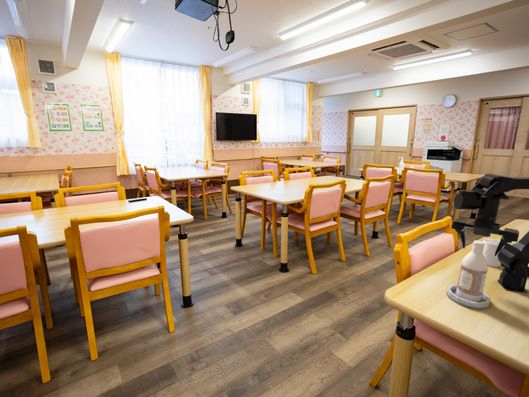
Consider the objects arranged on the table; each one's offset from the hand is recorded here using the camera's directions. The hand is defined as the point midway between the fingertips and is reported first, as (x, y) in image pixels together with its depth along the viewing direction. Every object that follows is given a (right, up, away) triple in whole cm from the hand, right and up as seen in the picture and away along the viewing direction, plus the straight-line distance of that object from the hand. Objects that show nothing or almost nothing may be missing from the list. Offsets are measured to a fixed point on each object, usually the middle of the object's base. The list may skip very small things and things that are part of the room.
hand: (479, 251), depth 104 cm
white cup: (+20, -9, +20) cm, 29 cm away
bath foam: (-8, -14, -6) cm, 18 cm away
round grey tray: (-9, -15, -6) cm, 18 cm away
